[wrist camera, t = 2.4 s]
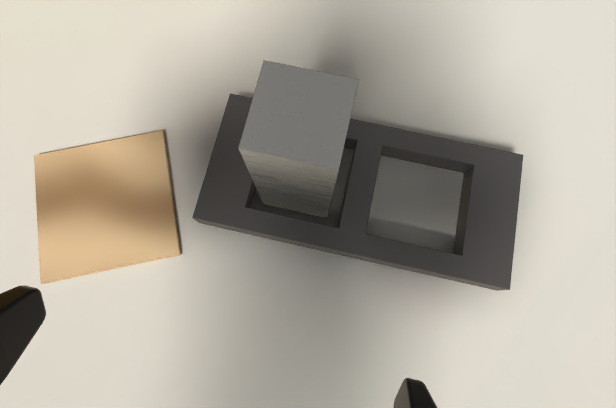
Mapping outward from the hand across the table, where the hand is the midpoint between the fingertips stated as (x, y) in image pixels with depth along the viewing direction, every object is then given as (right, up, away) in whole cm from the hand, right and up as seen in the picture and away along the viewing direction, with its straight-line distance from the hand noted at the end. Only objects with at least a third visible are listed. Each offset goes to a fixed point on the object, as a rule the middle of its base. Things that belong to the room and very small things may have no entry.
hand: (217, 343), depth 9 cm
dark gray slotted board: (+5, +4, +15) cm, 16 cm away
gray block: (+2, +5, +15) cm, 16 cm away
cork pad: (-10, +3, +14) cm, 18 cm away
